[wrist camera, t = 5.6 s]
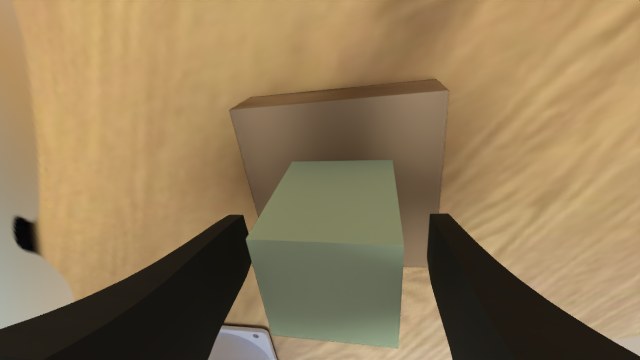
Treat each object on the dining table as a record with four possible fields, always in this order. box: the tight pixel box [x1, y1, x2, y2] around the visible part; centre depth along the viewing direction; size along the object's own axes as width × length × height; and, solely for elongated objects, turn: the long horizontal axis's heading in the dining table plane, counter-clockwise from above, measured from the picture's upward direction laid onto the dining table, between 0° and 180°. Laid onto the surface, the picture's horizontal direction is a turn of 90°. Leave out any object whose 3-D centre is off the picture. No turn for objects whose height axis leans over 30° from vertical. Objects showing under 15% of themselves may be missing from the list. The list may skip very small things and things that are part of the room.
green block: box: [246, 160, 404, 348], centre depth 11 cm, size 4×4×6 cm
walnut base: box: [229, 79, 449, 268], centre depth 15 cm, size 9×9×3 cm
